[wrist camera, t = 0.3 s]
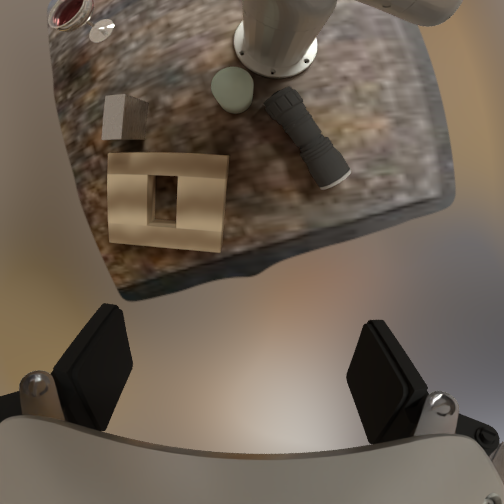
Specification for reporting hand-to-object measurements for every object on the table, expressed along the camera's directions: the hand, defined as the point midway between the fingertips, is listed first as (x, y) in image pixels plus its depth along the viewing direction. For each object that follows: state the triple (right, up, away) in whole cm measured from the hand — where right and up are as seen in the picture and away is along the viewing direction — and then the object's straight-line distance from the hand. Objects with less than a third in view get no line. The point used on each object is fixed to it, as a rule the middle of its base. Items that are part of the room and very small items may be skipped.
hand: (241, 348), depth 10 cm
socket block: (-13, +12, +33) cm, 37 cm away
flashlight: (+8, +21, +30) cm, 37 cm away
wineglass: (-25, +42, +22) cm, 53 cm away
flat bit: (-17, +24, +28) cm, 41 cm away
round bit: (-2, +26, +27) cm, 38 cm away
